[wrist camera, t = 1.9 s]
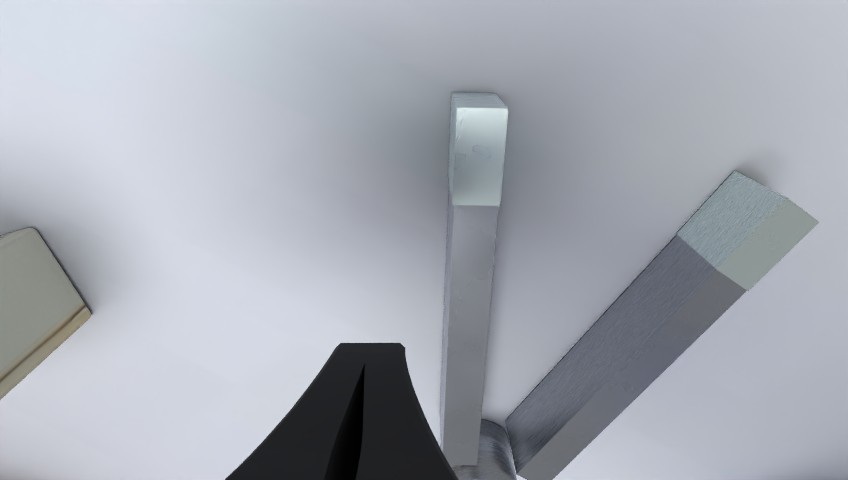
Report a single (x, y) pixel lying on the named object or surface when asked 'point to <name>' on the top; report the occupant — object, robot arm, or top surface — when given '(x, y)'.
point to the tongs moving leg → (469, 265)
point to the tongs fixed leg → (644, 330)
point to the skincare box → (32, 306)
